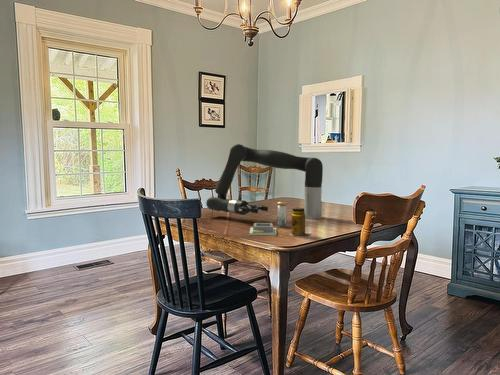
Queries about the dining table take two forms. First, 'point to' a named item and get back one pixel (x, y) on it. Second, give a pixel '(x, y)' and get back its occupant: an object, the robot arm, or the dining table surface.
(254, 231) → the dock
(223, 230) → the dining table surface
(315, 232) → the dining table surface
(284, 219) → the glass storage jar
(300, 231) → the condiment
